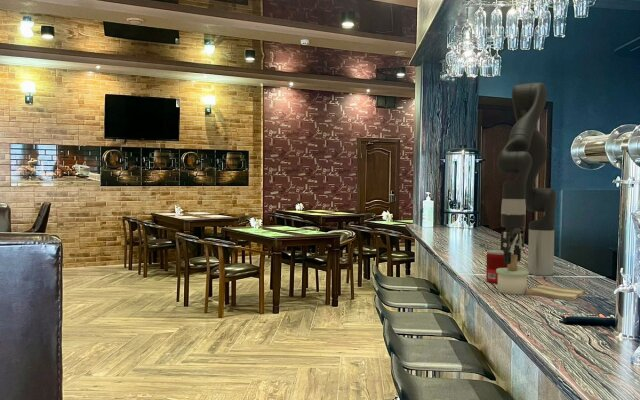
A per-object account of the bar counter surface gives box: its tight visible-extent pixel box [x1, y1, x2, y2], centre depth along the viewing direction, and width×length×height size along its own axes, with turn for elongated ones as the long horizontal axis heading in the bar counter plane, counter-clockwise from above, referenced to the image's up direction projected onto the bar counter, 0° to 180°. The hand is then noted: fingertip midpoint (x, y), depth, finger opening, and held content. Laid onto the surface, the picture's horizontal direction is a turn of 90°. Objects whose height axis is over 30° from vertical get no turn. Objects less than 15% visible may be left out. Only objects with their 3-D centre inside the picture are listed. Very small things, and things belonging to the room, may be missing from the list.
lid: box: [496, 253, 530, 276], centre depth 180 cm, size 10×10×6 cm
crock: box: [497, 274, 528, 295], centre depth 180 cm, size 9×9×6 cm
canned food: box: [485, 249, 508, 285], centre depth 197 cm, size 8×8×11 cm
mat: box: [525, 284, 586, 301], centre depth 177 cm, size 14×14×1 cm
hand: (512, 262), depth 180 cm, fingers open, 8 cm apart
